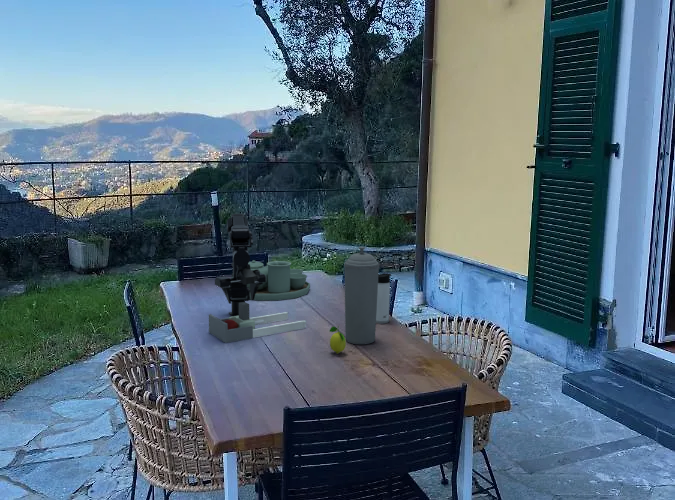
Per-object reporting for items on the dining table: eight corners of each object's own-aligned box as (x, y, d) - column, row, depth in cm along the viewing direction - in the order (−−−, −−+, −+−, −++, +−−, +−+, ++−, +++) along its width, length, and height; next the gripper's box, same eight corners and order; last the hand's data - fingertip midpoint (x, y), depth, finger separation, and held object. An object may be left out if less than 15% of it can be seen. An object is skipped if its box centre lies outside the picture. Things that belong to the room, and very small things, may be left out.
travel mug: (388, 324, 242) (390, 275, 238) (372, 323, 243) (373, 274, 240) (390, 320, 248) (391, 272, 244) (374, 318, 249) (375, 271, 246)
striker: (229, 329, 230) (228, 301, 228) (257, 324, 237) (256, 297, 235) (240, 336, 222) (239, 307, 220) (269, 331, 229) (269, 303, 227)
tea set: (325, 289, 302) (325, 256, 299) (276, 306, 268) (276, 270, 265) (262, 279, 322) (262, 248, 319) (210, 294, 288) (209, 260, 286)
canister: (381, 345, 216) (383, 249, 210) (346, 346, 214) (347, 250, 208) (373, 334, 228) (375, 243, 222) (340, 335, 226) (341, 244, 220)
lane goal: (208, 332, 228) (208, 314, 227) (286, 319, 247) (286, 302, 246) (225, 343, 216) (224, 324, 215) (305, 328, 235) (306, 310, 234)
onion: (235, 327, 230) (215, 332, 226) (235, 314, 228) (215, 319, 224) (241, 335, 226) (221, 340, 222) (241, 322, 224) (221, 327, 219)
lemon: (329, 350, 210) (329, 322, 209) (345, 350, 210) (346, 322, 208) (328, 356, 204) (328, 328, 202) (345, 357, 203) (346, 328, 202)
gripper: (226, 267, 211) (227, 310, 214) (273, 262, 222) (273, 303, 224) (213, 262, 220) (214, 303, 223) (259, 257, 231) (259, 297, 233)
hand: (241, 302), depth 225 cm, fingers open, 9 cm apart
